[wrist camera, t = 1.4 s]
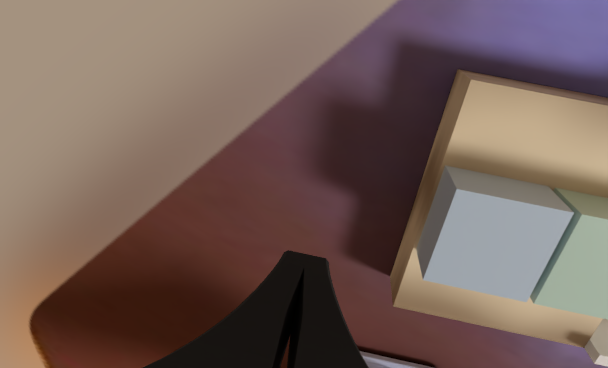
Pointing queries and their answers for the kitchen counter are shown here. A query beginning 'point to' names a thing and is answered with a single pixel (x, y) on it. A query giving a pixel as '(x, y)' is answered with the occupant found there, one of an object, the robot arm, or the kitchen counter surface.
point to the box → (599, 344)
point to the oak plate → (515, 165)
